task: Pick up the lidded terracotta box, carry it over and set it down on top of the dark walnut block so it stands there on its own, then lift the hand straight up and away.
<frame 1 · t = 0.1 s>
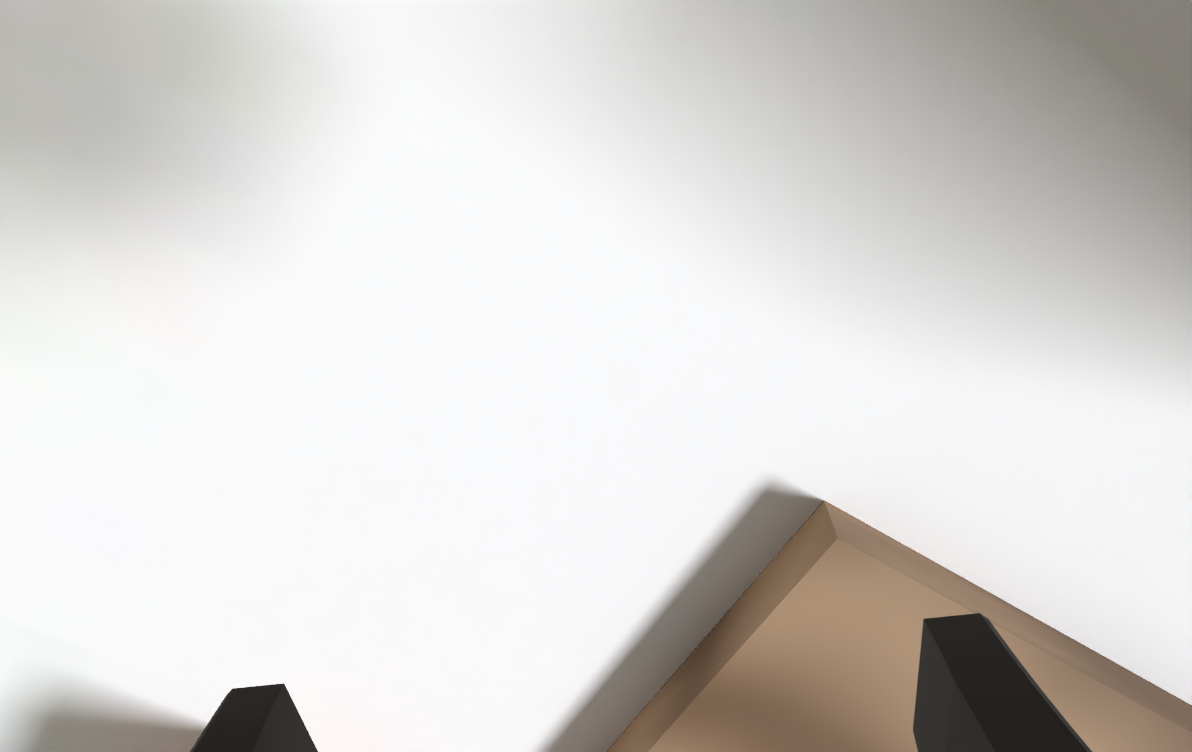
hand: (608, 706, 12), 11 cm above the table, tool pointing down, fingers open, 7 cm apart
walnut block: (860, 747, 27), on the table
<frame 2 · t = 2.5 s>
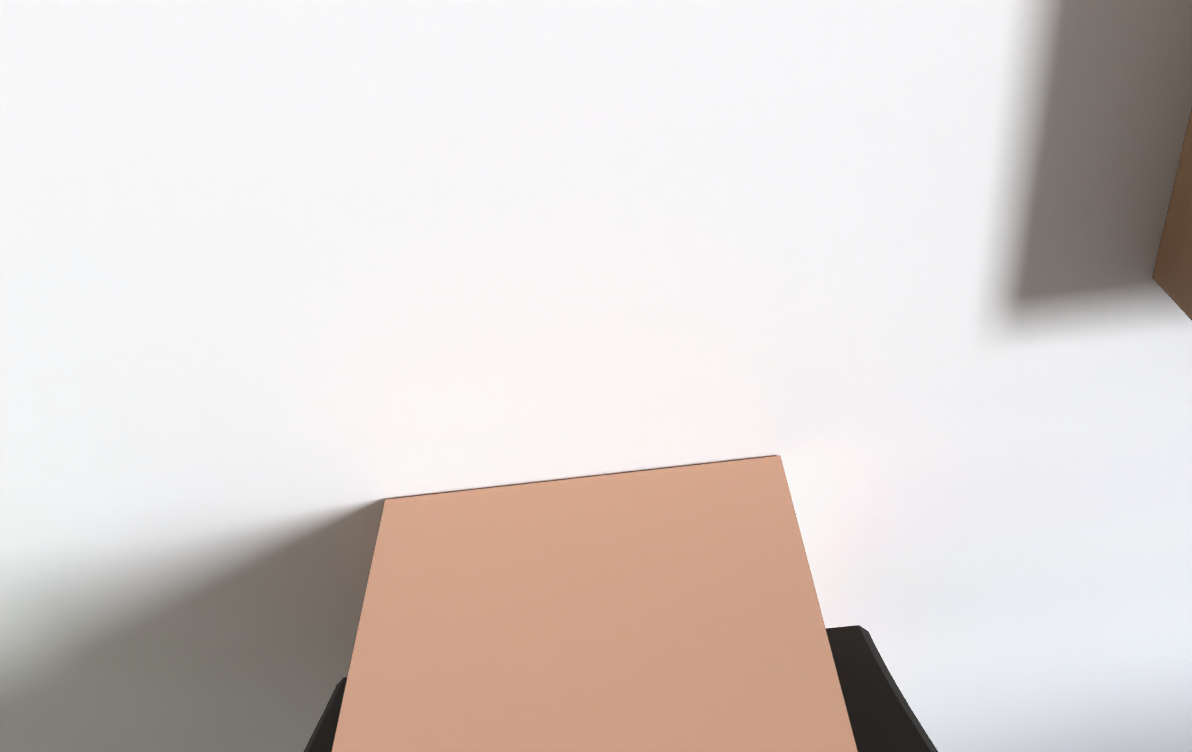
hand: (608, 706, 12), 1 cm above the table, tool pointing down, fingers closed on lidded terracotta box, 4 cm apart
lidded terracotta box: (604, 610, 13), on the table, touching gripper
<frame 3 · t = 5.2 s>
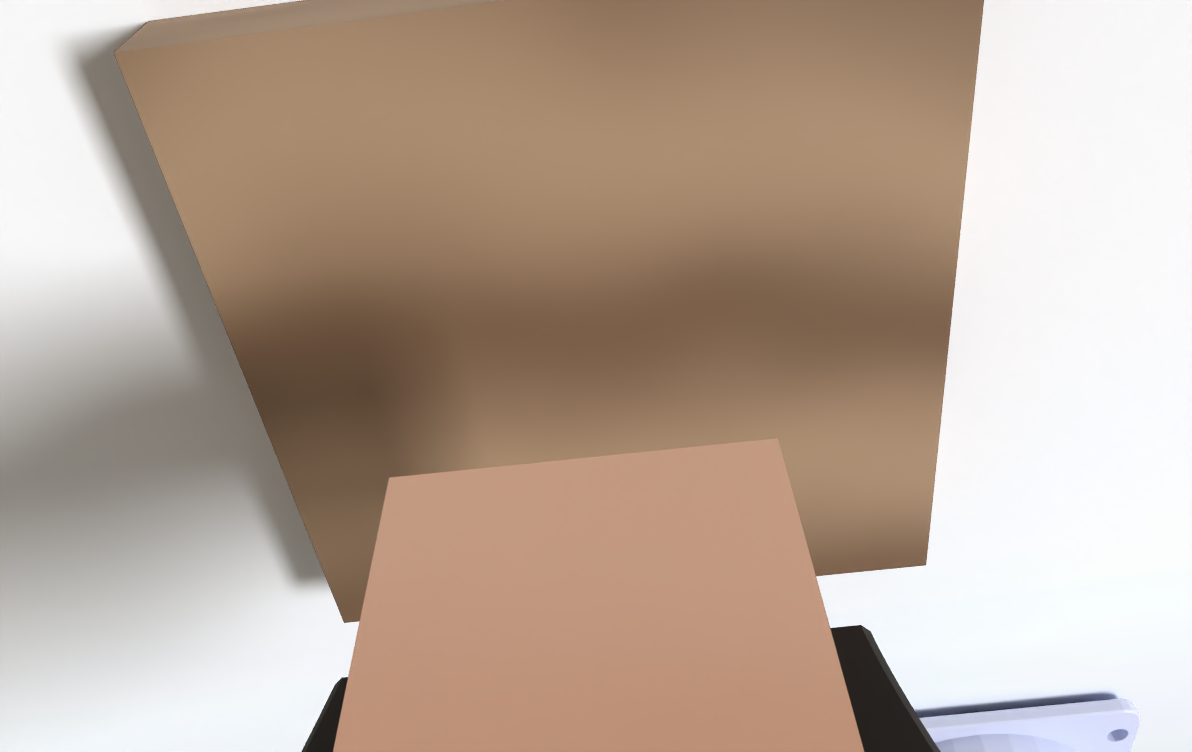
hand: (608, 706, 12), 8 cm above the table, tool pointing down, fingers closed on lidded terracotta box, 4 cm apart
lidded terracotta box: (602, 590, 13), point 7 cm above the table, touching gripper
walnut block: (592, 295, 19), on the table
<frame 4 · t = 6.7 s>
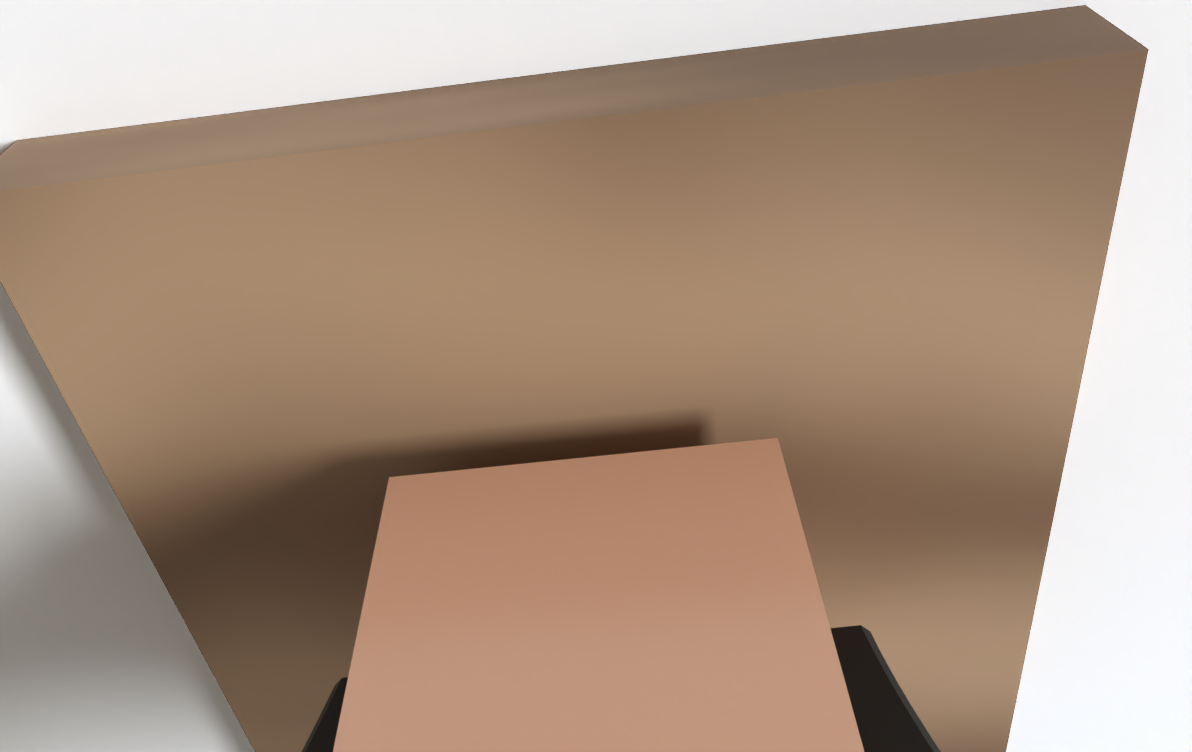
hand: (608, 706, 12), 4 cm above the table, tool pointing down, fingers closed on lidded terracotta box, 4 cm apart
lidded terracotta box: (602, 590, 13), point 2 cm above the table, touching gripper
walnut block: (598, 451, 15), on the table
when the fingers open (4 cm above the table, at t = 7.8 s): lidded terracotta box stays where it is, point 1 cm above the table.
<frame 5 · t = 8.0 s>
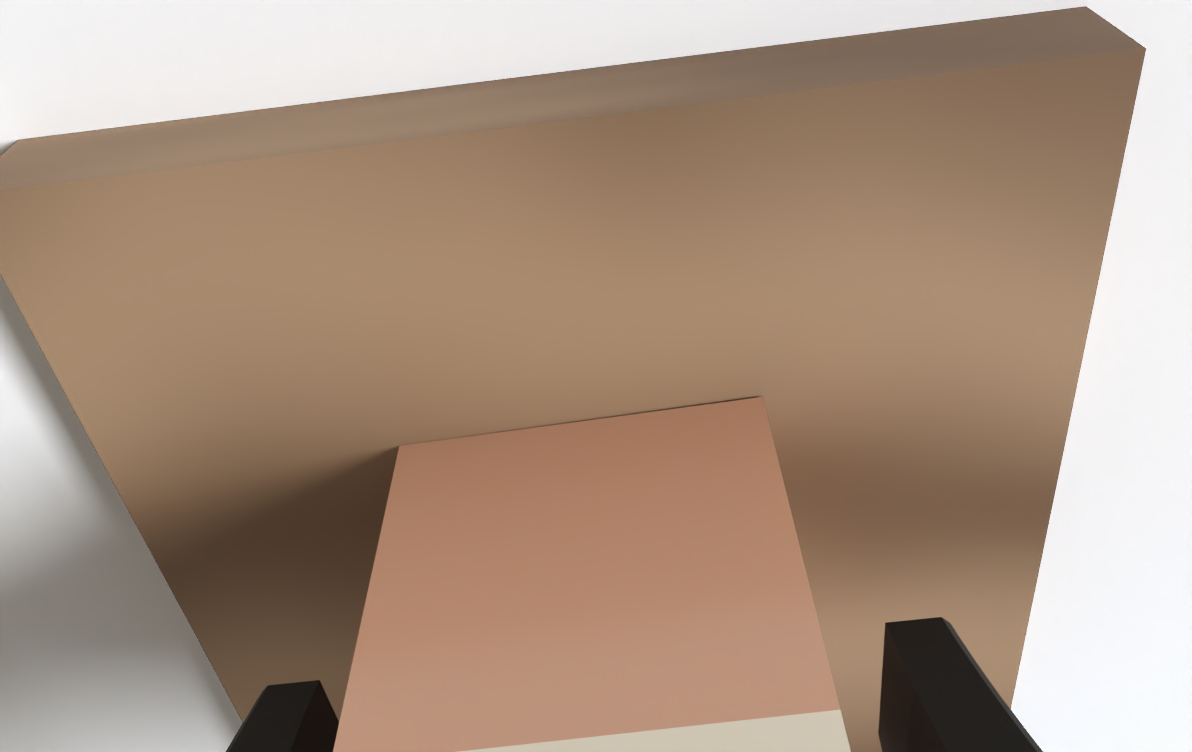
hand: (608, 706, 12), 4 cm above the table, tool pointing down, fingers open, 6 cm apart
lidded terracotta box: (606, 549, 14), point 1 cm above the table
walnut block: (598, 448, 15), on the table
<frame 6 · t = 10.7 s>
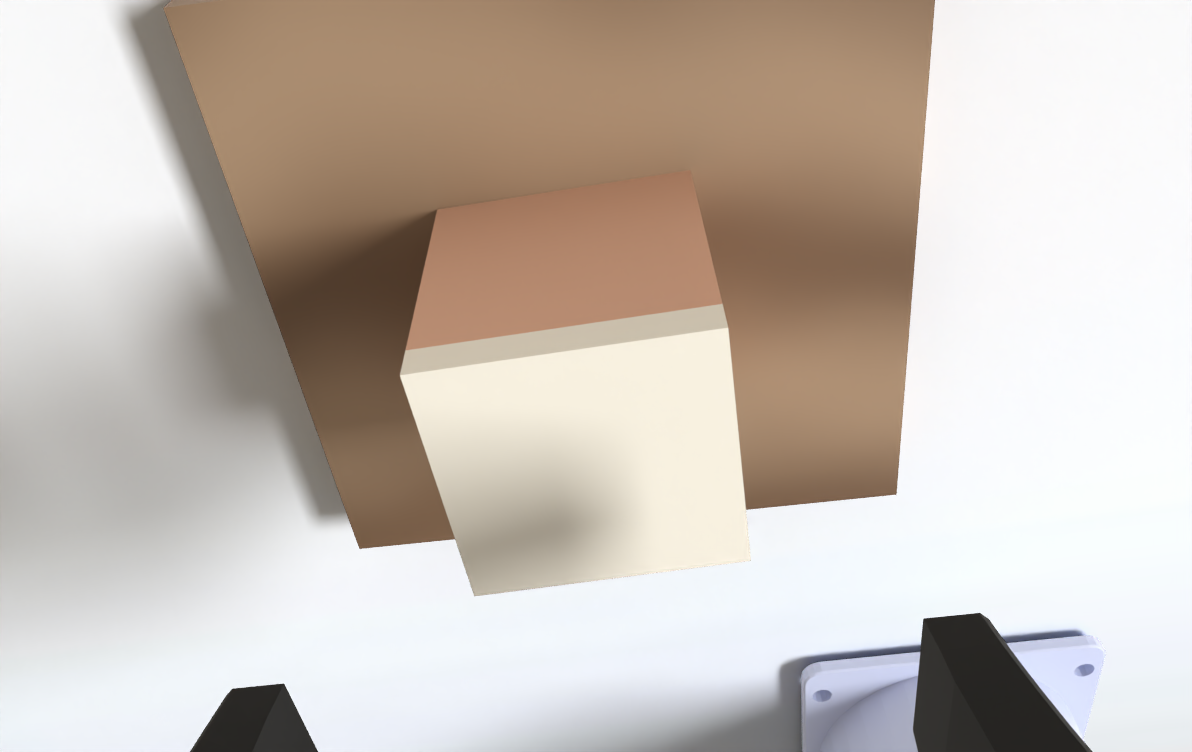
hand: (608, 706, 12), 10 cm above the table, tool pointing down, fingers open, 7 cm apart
lidded terracotta box: (583, 298, 19), point 1 cm above the table, touching walnut block
walnut block: (590, 241, 21), on the table, touching lidded terracotta box
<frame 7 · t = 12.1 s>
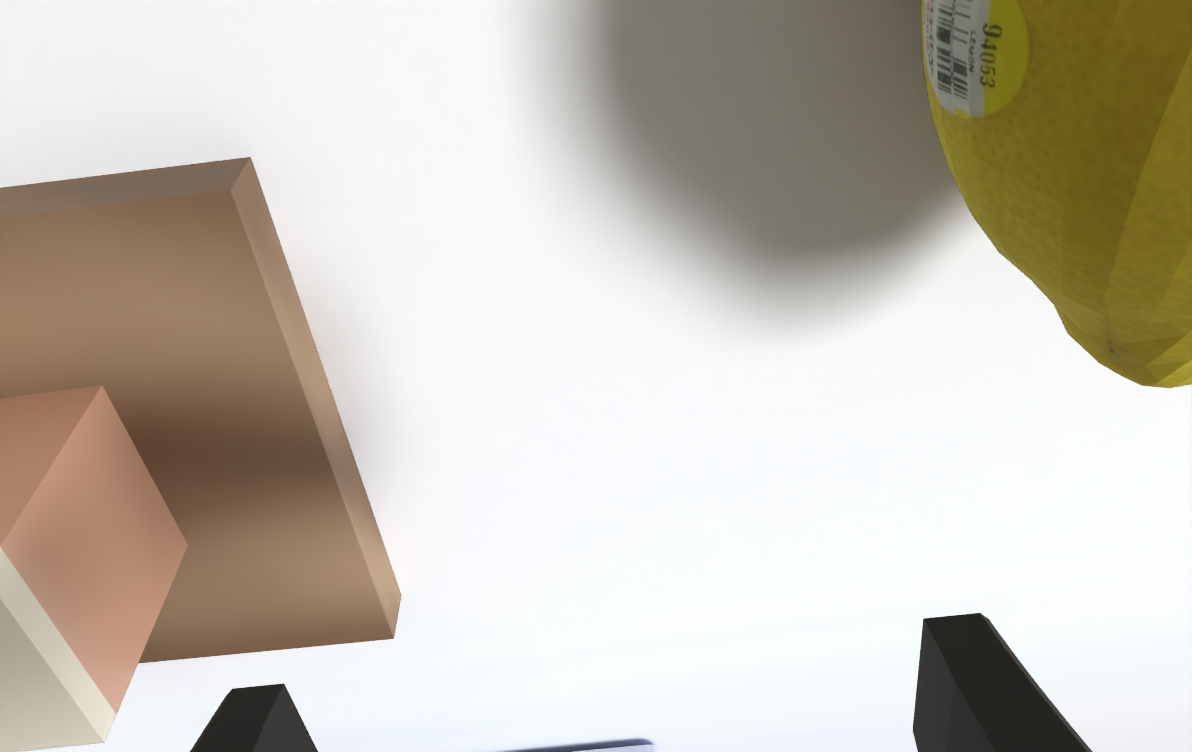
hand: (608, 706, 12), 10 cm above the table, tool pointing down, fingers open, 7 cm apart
lidded terracotta box: (45, 482, 21), point 1 cm above the table, touching walnut block
walnut block: (84, 422, 23), on the table, touching lidded terracotta box
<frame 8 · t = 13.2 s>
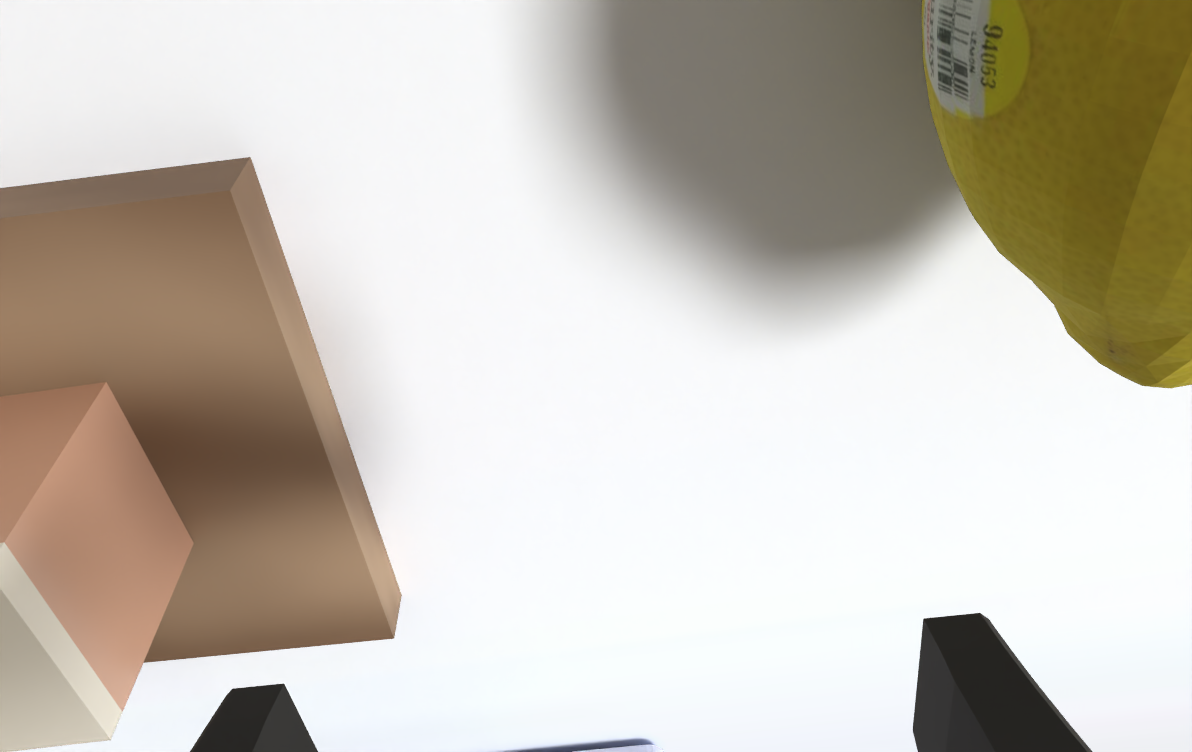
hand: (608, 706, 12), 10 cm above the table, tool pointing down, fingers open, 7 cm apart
lidded terracotta box: (50, 481, 21), point 1 cm above the table, touching walnut block
walnut block: (84, 422, 23), on the table, touching lidded terracotta box
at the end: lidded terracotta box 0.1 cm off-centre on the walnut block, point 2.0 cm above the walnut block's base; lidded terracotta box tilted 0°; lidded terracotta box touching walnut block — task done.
